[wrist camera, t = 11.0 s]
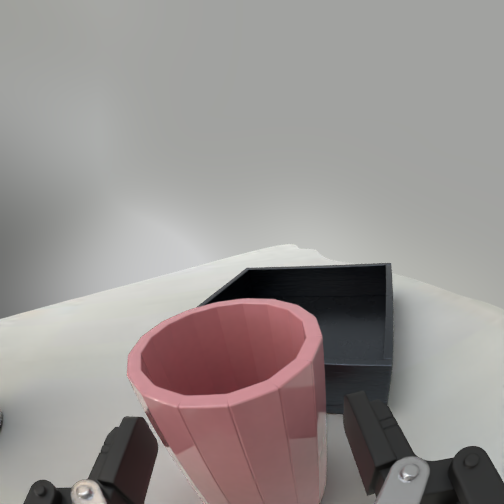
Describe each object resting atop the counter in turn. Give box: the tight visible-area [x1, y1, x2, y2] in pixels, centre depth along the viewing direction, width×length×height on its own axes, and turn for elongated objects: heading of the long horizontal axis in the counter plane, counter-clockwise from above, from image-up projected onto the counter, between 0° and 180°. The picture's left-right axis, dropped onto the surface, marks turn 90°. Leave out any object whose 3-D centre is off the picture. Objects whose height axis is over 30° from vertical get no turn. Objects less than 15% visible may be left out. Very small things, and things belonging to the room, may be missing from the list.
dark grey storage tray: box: [196, 263, 393, 414], centre depth 25 cm, size 17×17×4 cm
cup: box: [127, 298, 327, 504], centre depth 10 cm, size 6×6×10 cm
